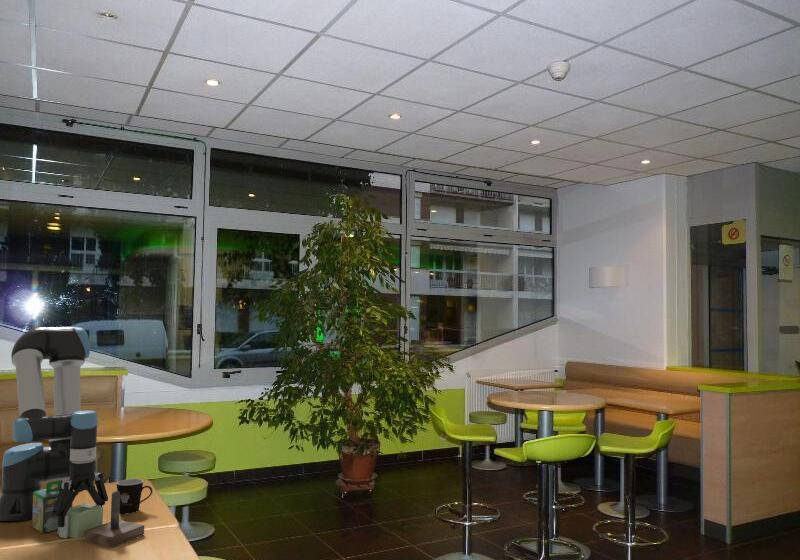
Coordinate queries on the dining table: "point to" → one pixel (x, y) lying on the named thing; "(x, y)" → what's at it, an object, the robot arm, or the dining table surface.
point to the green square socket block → (83, 519)
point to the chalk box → (45, 508)
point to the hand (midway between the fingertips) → (80, 531)
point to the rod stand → (114, 528)
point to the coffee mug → (131, 494)
